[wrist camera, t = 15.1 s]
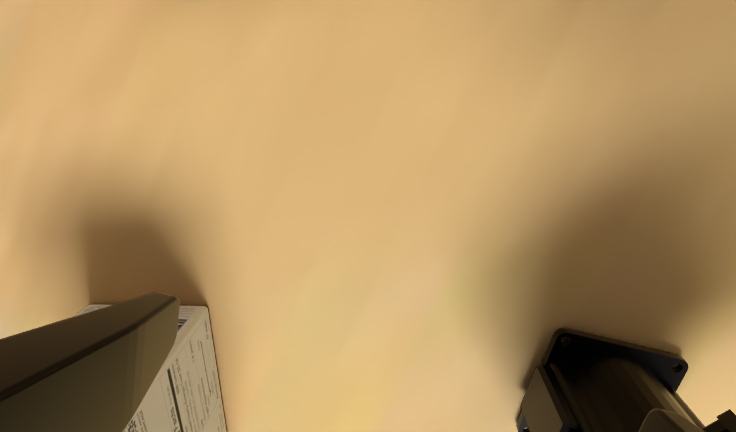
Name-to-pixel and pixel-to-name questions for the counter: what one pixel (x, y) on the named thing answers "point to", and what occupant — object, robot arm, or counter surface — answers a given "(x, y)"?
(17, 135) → the counter surface
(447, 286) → the counter surface
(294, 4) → the counter surface
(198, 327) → the light bulb box
